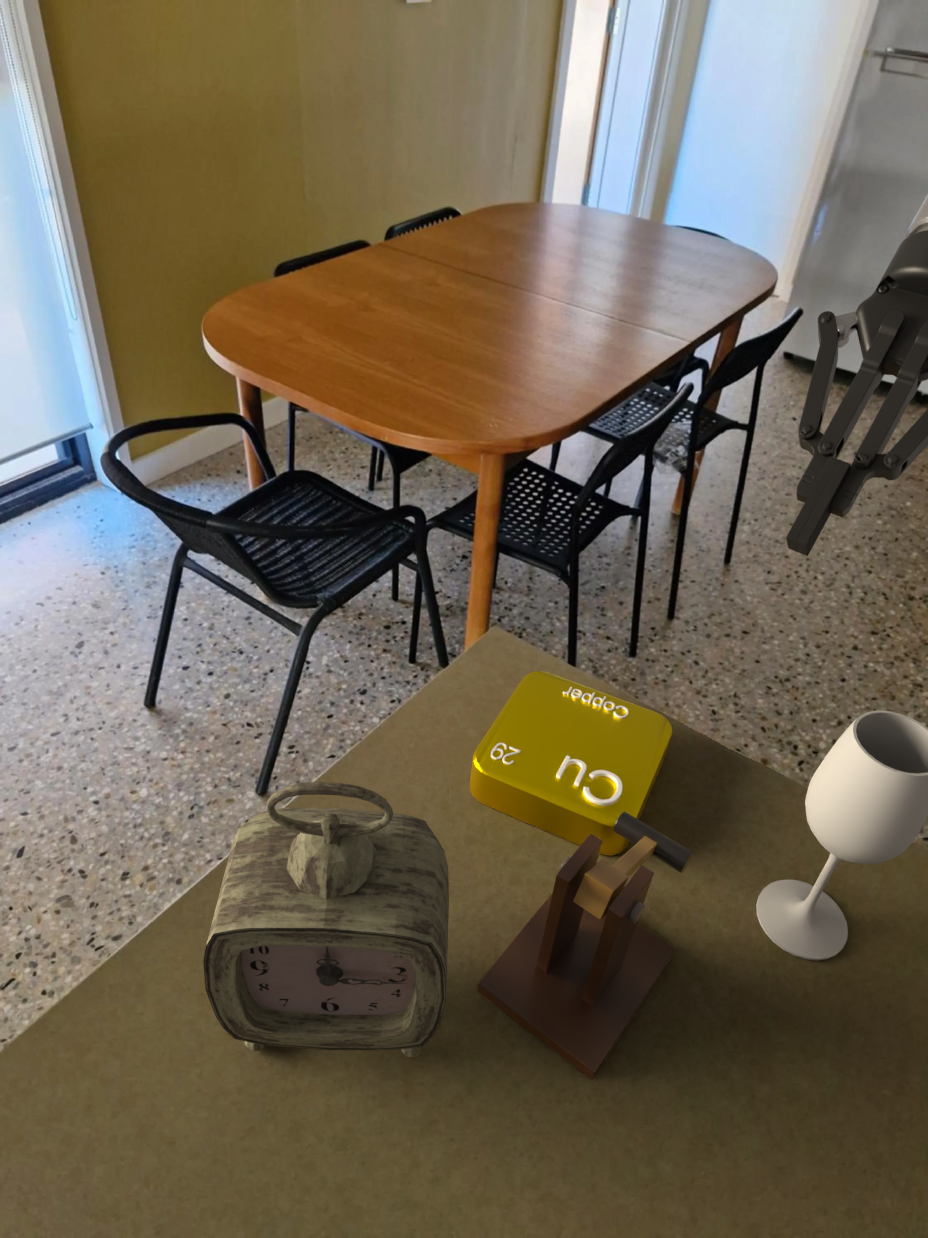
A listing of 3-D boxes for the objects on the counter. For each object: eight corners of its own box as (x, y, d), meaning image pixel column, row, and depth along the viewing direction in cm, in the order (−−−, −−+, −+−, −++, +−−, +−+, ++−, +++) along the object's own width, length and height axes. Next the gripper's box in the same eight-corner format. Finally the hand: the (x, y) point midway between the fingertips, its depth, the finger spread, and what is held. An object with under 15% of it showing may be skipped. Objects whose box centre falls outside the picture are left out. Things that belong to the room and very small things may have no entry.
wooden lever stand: (563, 884, 73) (588, 782, 65) (672, 956, 69) (713, 856, 61) (476, 991, 65) (492, 891, 57) (592, 1080, 61) (626, 985, 53)
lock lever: (617, 830, 71) (628, 805, 70) (684, 871, 68) (697, 846, 68) (549, 886, 61) (561, 857, 60) (625, 937, 58) (639, 908, 57)
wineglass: (837, 980, 68) (950, 805, 55) (741, 930, 71) (827, 752, 58) (858, 908, 73) (967, 732, 60) (768, 864, 76) (853, 686, 63)
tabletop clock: (223, 1069, 60) (172, 842, 44) (249, 946, 67) (213, 712, 51) (437, 1078, 60) (462, 856, 45) (441, 955, 67) (463, 725, 52)
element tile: (668, 749, 86) (679, 714, 83) (620, 865, 75) (630, 830, 72) (526, 695, 90) (531, 660, 87) (461, 797, 79) (464, 760, 76)
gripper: (1041, 310, 64) (885, 597, 64) (862, 264, 70) (719, 528, 70) (1064, 248, 57) (891, 570, 57) (865, 203, 63) (706, 495, 63)
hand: (797, 546), depth 63 cm, fingers closed
